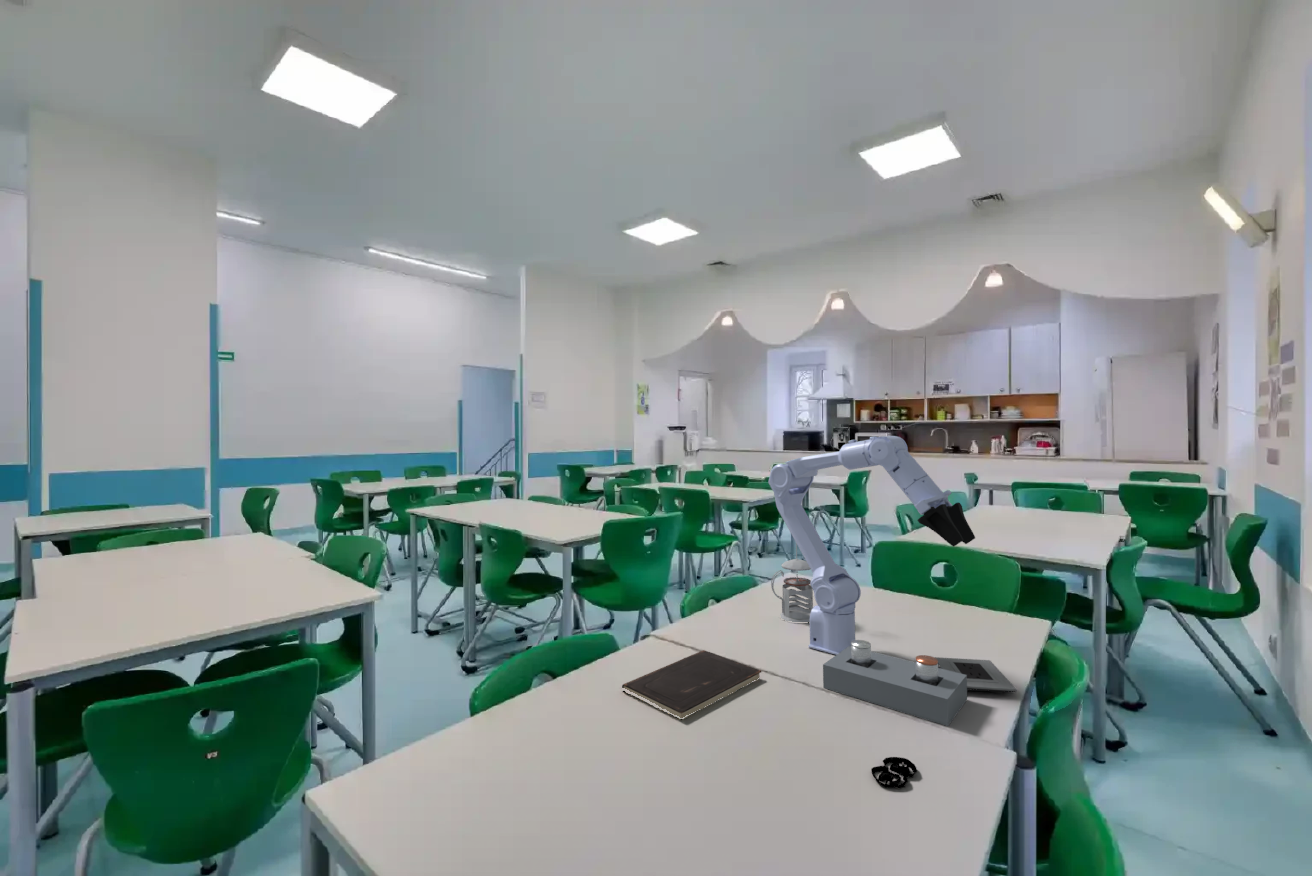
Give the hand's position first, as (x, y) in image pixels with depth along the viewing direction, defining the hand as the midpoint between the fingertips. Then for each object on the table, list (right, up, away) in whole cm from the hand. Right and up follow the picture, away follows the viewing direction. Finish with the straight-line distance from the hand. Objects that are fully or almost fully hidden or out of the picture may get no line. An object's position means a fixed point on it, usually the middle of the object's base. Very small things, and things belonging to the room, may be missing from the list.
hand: (964, 542), depth 106 cm
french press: (-21, -28, +43) cm, 56 cm away
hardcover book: (-51, -30, +5) cm, 59 cm away
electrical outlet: (+4, -28, +4) cm, 29 cm away
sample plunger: (-18, -25, +4) cm, 31 cm away
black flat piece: (-24, -29, -25) cm, 45 cm away
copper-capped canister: (-9, -25, -4) cm, 27 cm away
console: (-13, -28, 0) cm, 31 cm away
